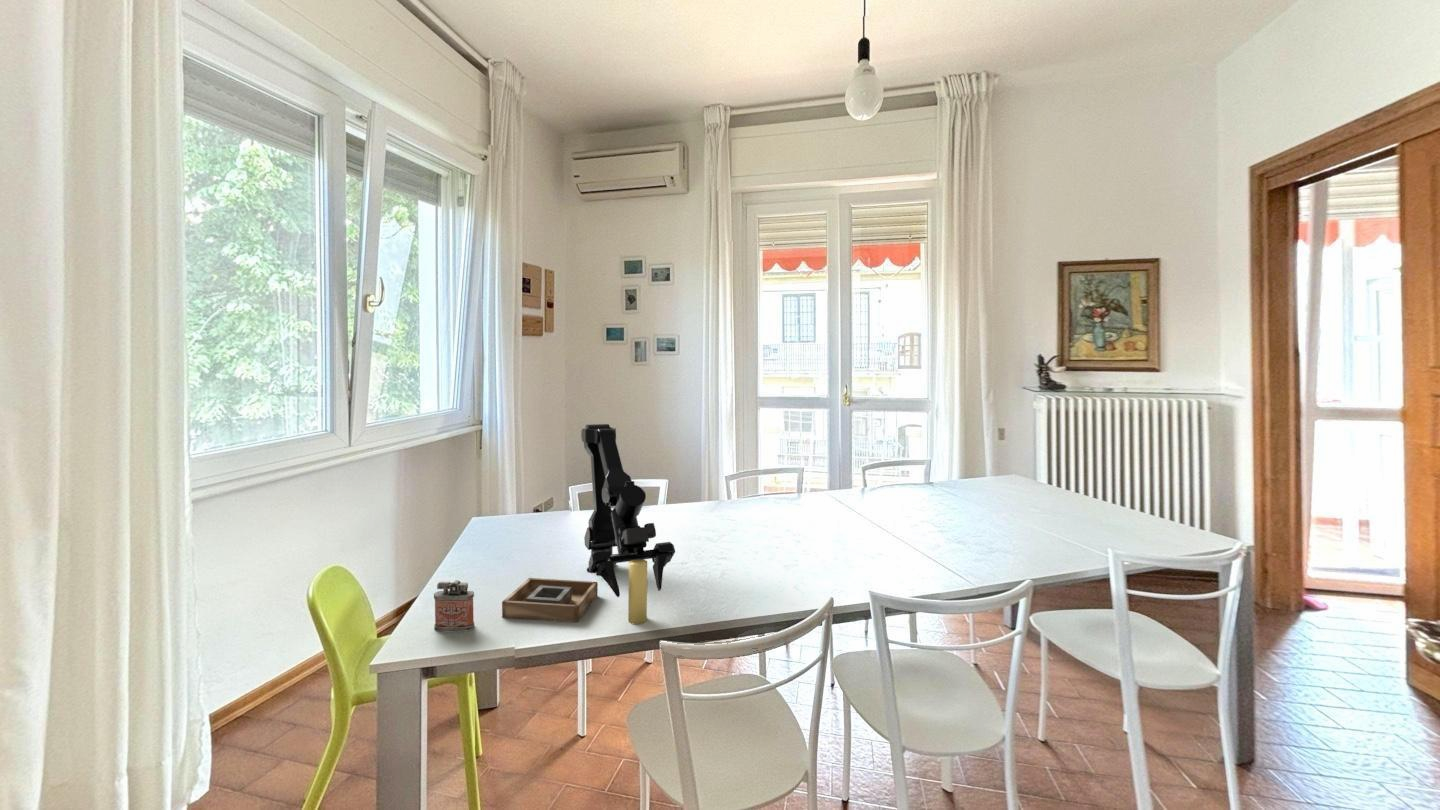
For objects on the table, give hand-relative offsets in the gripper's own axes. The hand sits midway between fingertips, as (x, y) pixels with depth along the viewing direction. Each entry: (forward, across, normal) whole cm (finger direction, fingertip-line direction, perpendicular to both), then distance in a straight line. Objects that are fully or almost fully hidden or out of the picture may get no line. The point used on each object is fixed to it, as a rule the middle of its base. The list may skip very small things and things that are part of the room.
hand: (639, 593), depth 125 cm
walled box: (-6, -16, +16) cm, 23 cm away
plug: (+4, 0, +6) cm, 7 cm away
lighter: (-4, -36, +13) cm, 39 cm away
